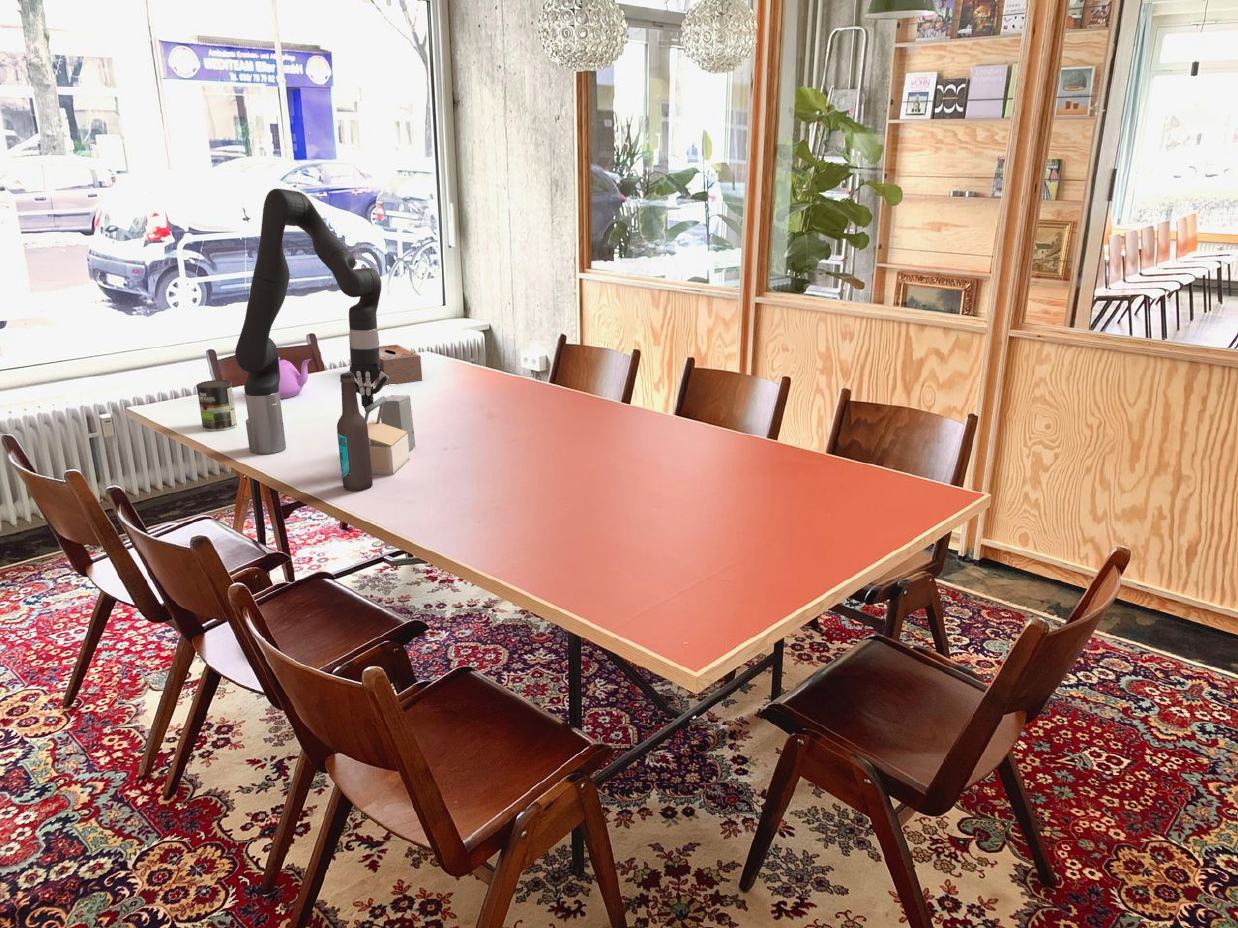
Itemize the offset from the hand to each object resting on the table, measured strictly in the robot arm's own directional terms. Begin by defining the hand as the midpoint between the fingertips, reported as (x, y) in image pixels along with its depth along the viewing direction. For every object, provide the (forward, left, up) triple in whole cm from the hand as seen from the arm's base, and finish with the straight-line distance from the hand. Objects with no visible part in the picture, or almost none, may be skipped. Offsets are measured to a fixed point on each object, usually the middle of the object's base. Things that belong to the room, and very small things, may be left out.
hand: (367, 407), depth 252 cm
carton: (+3, 0, -17) cm, 17 cm away
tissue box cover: (-33, +105, -17) cm, 111 cm away
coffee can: (-63, +32, -17) cm, 72 cm away
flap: (+3, 0, -7) cm, 8 cm away
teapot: (-61, +73, -17) cm, 97 cm away
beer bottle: (+2, -17, -17) cm, 24 cm away
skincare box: (+2, +15, -17) cm, 23 cm away
